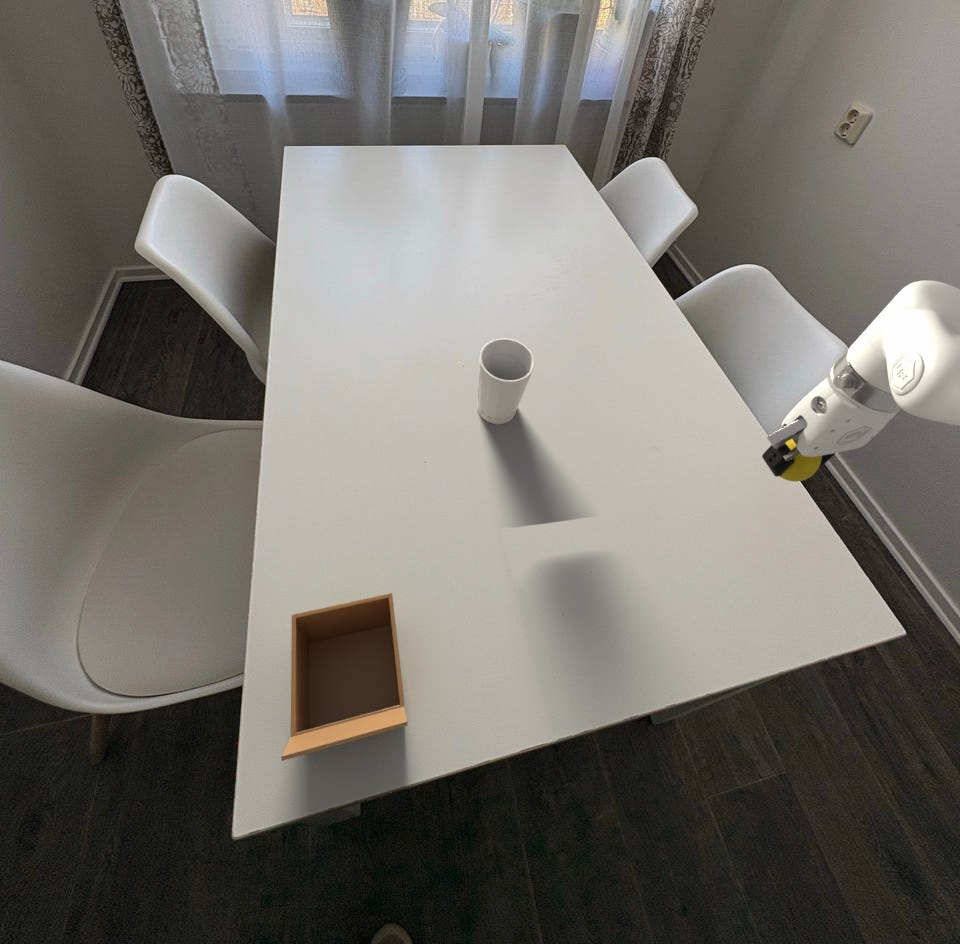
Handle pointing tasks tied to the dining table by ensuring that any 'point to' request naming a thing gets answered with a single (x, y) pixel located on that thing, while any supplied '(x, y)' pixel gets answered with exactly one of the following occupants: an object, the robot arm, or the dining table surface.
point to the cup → (502, 379)
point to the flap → (344, 733)
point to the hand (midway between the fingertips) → (790, 461)
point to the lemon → (801, 466)
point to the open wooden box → (344, 664)
